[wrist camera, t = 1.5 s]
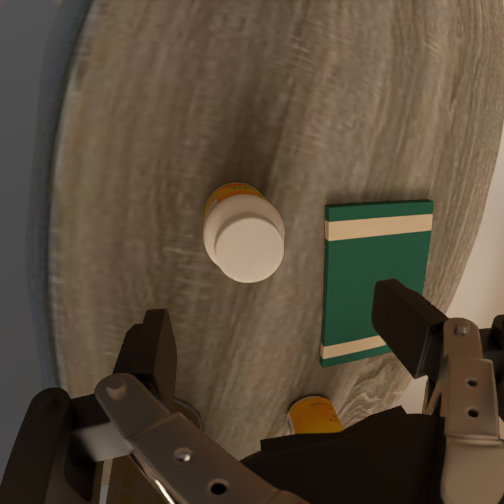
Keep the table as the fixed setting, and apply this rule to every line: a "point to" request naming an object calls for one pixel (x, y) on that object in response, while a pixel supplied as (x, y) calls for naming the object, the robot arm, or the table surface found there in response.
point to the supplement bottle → (243, 233)
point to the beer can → (313, 416)
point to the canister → (130, 477)
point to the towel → (368, 269)
